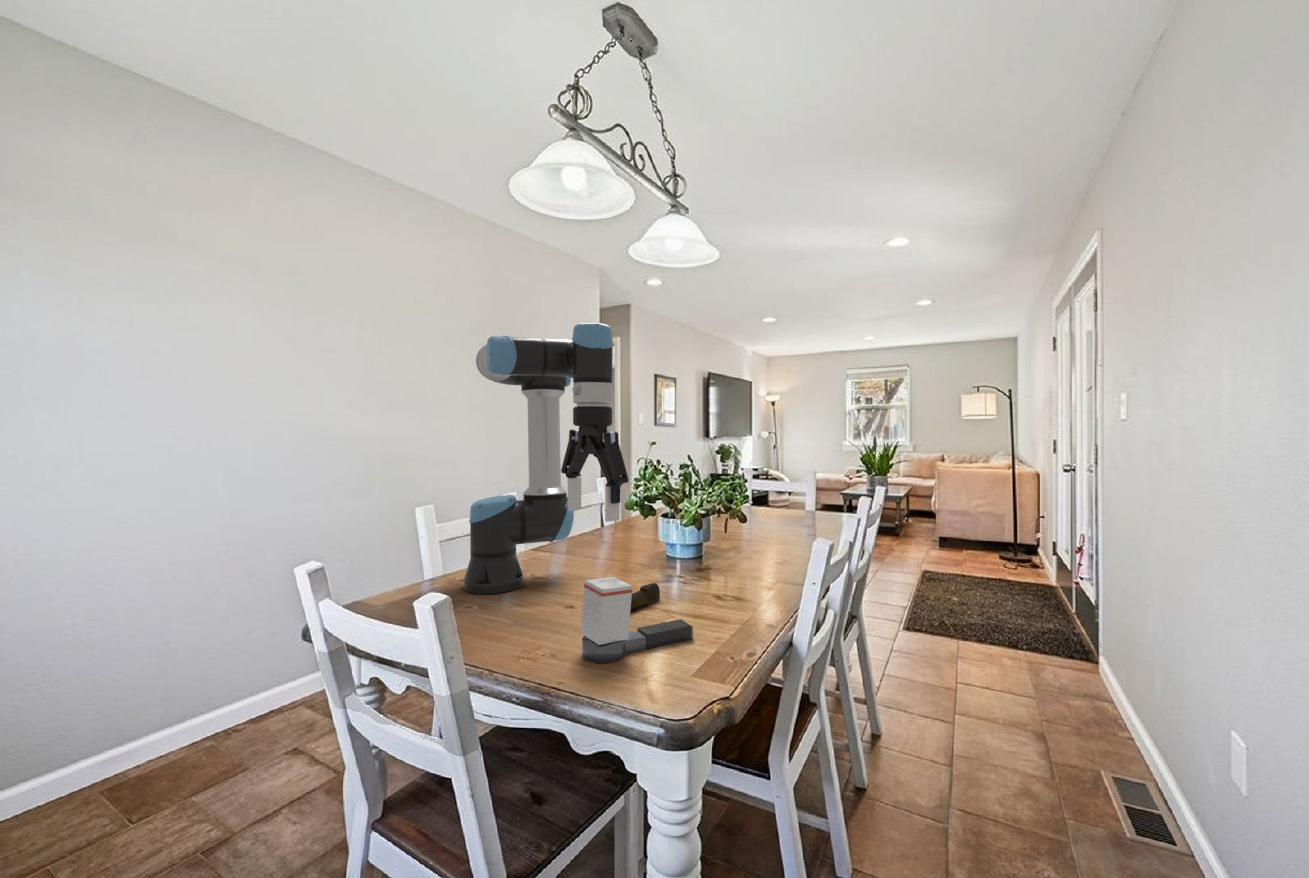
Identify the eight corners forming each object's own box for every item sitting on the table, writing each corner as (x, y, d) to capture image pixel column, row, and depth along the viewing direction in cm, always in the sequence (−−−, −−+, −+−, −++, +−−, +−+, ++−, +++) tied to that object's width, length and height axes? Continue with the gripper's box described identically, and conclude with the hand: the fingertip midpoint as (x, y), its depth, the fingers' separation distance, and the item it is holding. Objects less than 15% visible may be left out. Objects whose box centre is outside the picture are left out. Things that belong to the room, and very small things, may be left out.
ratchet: (592, 666, 98) (591, 625, 98) (576, 650, 105) (575, 611, 105) (698, 642, 109) (699, 604, 109) (677, 628, 116) (677, 593, 116)
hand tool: (609, 623, 120) (609, 602, 120) (597, 618, 122) (597, 598, 122) (667, 602, 134) (668, 583, 133) (655, 599, 136) (655, 580, 136)
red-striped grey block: (580, 632, 104) (584, 580, 104) (609, 627, 108) (613, 576, 108) (598, 645, 99) (602, 589, 99) (628, 639, 103) (632, 585, 103)
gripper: (544, 405, 114) (544, 507, 115) (613, 405, 95) (613, 528, 96) (576, 405, 119) (576, 503, 120) (648, 405, 99) (647, 523, 100)
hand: (592, 515), depth 108 cm, fingers open, 13 cm apart
